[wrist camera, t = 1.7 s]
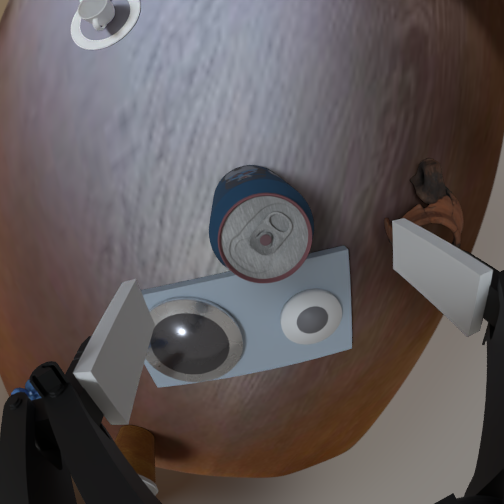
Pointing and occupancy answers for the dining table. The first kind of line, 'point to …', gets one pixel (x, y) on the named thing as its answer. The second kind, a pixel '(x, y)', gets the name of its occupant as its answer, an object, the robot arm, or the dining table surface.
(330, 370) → the dining table surface
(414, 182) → the pottery mug
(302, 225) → the soda can
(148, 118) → the dining table surface
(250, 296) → the flange board
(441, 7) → the dining table surface
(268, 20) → the dining table surface
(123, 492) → the robot arm
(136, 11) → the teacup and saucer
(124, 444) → the disposable coffee cup
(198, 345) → the wide flange
